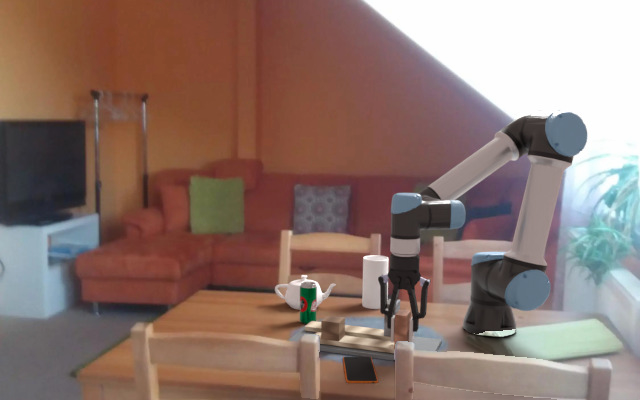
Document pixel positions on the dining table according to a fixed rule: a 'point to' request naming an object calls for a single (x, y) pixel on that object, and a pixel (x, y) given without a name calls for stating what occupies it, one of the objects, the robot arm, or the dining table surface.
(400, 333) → the strip
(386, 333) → the strip
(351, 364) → the smartphone
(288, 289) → the teapot
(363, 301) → the cup
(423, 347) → the board
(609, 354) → the dining table surface
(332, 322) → the block
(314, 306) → the soda can
